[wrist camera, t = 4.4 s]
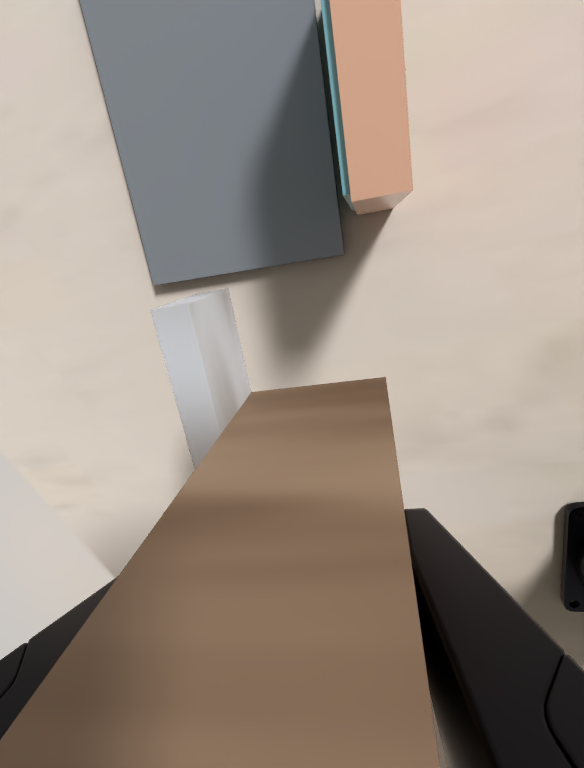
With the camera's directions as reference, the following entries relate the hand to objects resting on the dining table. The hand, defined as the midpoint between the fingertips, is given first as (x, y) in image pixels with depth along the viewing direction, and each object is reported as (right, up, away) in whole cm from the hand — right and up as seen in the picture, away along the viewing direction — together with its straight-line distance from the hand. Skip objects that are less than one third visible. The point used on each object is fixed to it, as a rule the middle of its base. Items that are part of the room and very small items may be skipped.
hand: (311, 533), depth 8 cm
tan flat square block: (+3, +14, +9) cm, 17 cm away
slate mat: (-3, +14, +10) cm, 17 cm away
